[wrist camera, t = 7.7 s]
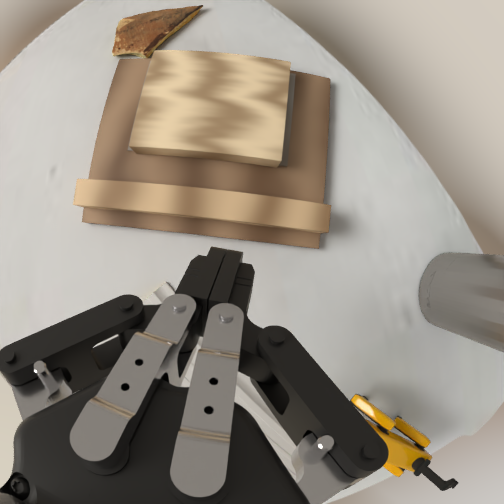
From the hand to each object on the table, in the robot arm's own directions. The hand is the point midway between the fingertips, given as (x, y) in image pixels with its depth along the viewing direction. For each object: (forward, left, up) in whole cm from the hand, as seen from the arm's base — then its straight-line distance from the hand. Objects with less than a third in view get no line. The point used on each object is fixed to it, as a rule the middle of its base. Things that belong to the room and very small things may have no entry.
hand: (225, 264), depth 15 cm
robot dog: (-21, +19, -16) cm, 33 cm away
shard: (+13, -27, -16) cm, 34 cm away
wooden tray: (+3, -11, -16) cm, 19 cm away
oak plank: (+3, -9, -13) cm, 16 cm away
